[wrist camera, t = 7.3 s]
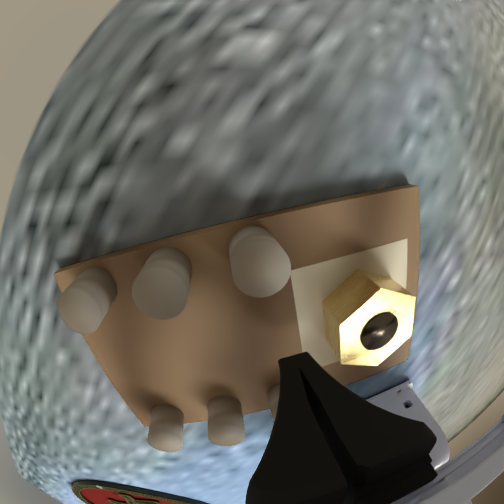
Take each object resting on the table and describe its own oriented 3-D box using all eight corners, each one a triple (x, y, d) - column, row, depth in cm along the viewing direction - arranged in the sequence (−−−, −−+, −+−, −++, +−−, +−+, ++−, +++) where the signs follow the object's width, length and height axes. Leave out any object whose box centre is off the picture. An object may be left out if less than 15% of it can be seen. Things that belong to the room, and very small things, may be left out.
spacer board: (409, 184, 13) (450, 193, 10) (402, 353, 18) (425, 380, 15) (60, 268, 12) (29, 295, 9) (145, 418, 17) (140, 453, 14)
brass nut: (319, 279, 14) (338, 303, 11) (391, 258, 14) (418, 275, 11) (326, 353, 15) (341, 381, 13) (389, 330, 16) (409, 352, 13)
